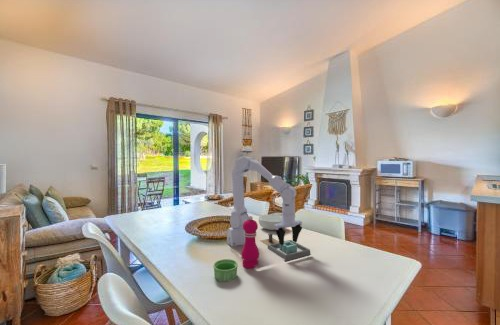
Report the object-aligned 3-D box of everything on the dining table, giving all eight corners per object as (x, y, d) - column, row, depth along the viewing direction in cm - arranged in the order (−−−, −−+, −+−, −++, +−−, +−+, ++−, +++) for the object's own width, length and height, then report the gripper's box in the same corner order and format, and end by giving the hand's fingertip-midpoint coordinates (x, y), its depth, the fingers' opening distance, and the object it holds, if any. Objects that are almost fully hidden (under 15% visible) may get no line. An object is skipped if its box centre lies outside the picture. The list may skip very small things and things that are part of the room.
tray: (285, 262, 96) (285, 255, 96) (267, 250, 108) (267, 244, 108) (310, 255, 103) (310, 249, 103) (290, 245, 115) (290, 239, 115)
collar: (288, 255, 101) (288, 247, 101) (279, 250, 107) (279, 242, 106) (298, 253, 104) (298, 245, 103) (289, 248, 109) (289, 240, 109)
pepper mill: (261, 262, 96) (261, 214, 95) (256, 270, 89) (256, 219, 88) (244, 259, 98) (245, 213, 98) (238, 267, 91) (238, 217, 91)
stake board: (268, 248, 111) (268, 237, 111) (259, 242, 118) (259, 232, 118) (281, 244, 115) (281, 235, 115) (272, 239, 122) (272, 230, 122)
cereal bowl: (288, 234, 131) (288, 221, 131) (258, 233, 131) (258, 221, 131) (284, 225, 148) (284, 214, 148) (258, 224, 148) (258, 214, 148)
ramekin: (215, 284, 80) (215, 271, 79) (211, 271, 88) (211, 260, 88) (240, 280, 82) (240, 268, 82) (234, 268, 91) (234, 257, 91)
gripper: (280, 217, 98) (280, 248, 98) (306, 213, 105) (306, 242, 105) (271, 213, 104) (271, 243, 104) (296, 210, 111) (296, 238, 111)
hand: (288, 242), depth 105 cm, fingers open, 7 cm apart
